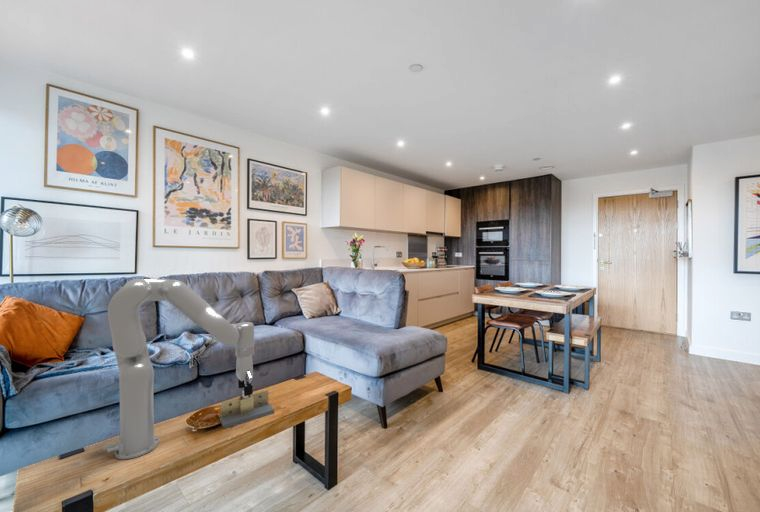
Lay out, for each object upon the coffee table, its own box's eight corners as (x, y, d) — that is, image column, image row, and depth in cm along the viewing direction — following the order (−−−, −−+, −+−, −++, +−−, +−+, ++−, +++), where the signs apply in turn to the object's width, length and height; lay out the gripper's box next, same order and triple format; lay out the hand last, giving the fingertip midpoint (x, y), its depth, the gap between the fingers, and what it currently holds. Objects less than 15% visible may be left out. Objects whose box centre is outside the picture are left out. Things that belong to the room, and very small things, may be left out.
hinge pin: (243, 412, 135) (243, 391, 135) (241, 410, 137) (241, 389, 137) (249, 410, 136) (249, 389, 136) (247, 408, 138) (247, 387, 138)
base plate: (223, 428, 125) (223, 424, 125) (216, 414, 136) (216, 411, 136) (274, 413, 137) (274, 409, 137) (264, 401, 148) (264, 398, 148)
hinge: (222, 419, 129) (222, 405, 129) (219, 415, 133) (219, 400, 133) (269, 406, 140) (269, 392, 140) (266, 401, 145) (266, 388, 145)
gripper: (230, 348, 142) (231, 387, 141) (240, 358, 128) (241, 400, 128) (248, 345, 146) (249, 382, 146) (259, 354, 132) (260, 395, 132)
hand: (245, 391), depth 137 cm, fingers open, 9 cm apart
